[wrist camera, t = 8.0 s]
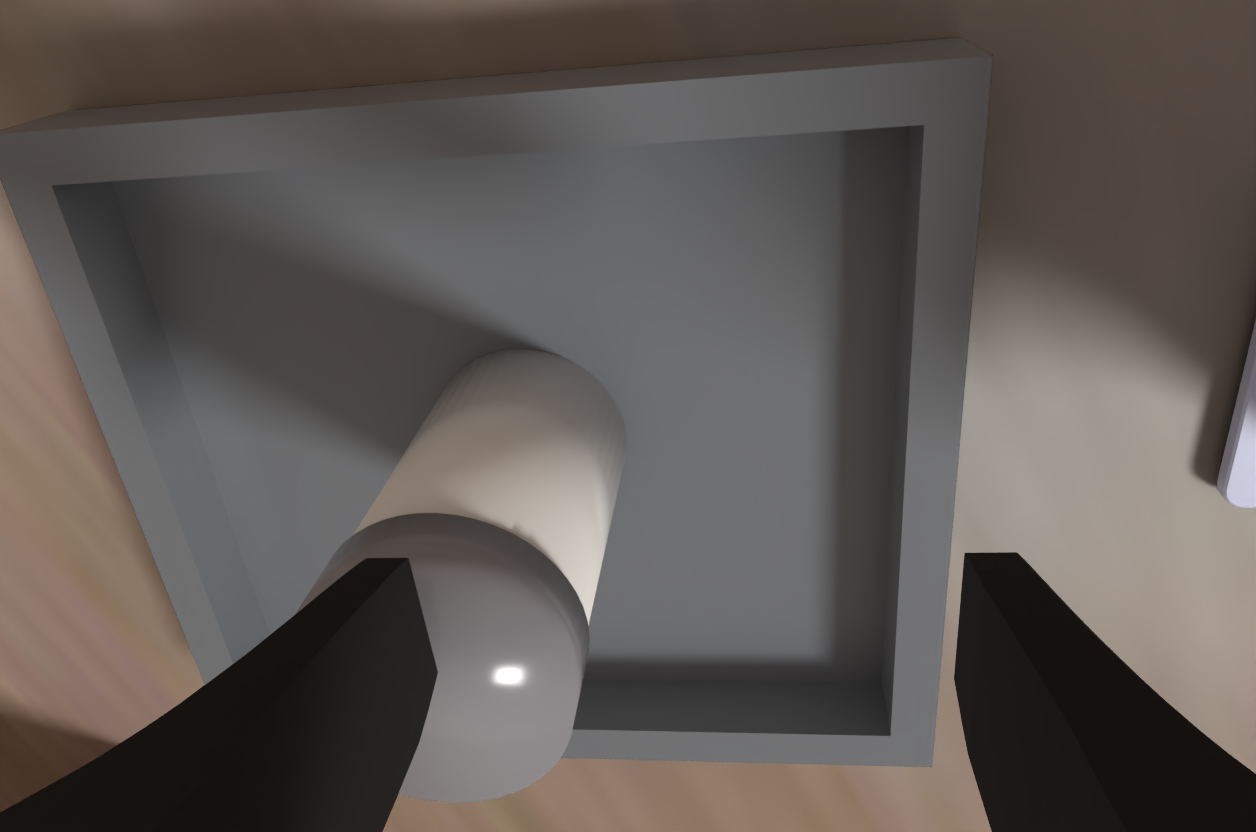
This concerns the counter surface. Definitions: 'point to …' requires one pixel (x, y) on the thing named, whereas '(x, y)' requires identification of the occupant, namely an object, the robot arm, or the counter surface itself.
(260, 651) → the robot arm
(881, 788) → the counter surface
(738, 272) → the tray
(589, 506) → the shaker
